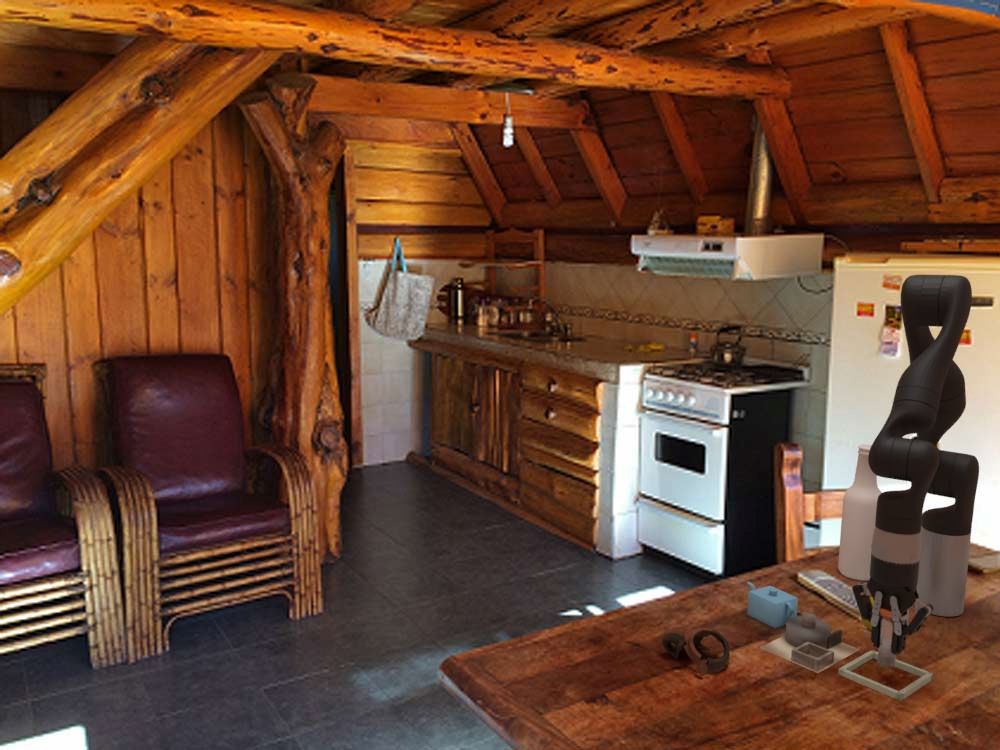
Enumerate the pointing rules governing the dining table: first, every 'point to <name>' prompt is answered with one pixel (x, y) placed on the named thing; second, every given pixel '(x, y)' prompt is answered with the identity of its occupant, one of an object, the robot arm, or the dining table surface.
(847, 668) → the tray
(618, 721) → the dining table surface
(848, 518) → the alcohol
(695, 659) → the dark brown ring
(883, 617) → the pin
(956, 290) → the robot arm
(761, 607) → the teapot
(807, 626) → the pulley board
